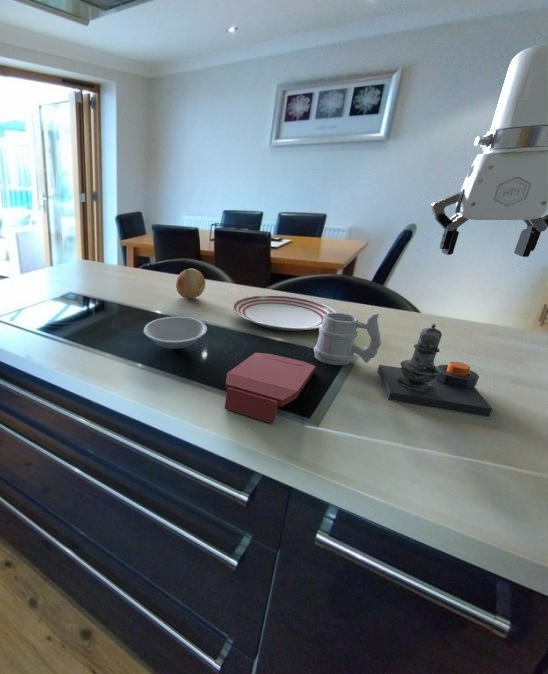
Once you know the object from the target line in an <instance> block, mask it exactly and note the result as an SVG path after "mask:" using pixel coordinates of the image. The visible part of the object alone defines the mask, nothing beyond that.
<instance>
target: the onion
mask: <svg viewBox="0 0 548 674" xmlns="http://www.w3.org/2000/svg"><path fill="white" fill-rule="evenodd" d="M175 289H176V291H177V293H178V295H180V296H181V297H182V298H184V299H189V300H191V299H194V298H198V297H200V296H201V295H202V294H203V293H204V291H205V289H206V280H205V277H204V274H202V272H201V271H200V270H198V269H195V268H188V269H184V270H183V271H181V272H180V273H179V274H178V276H177V277H176V280H175Z"/></svg>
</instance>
